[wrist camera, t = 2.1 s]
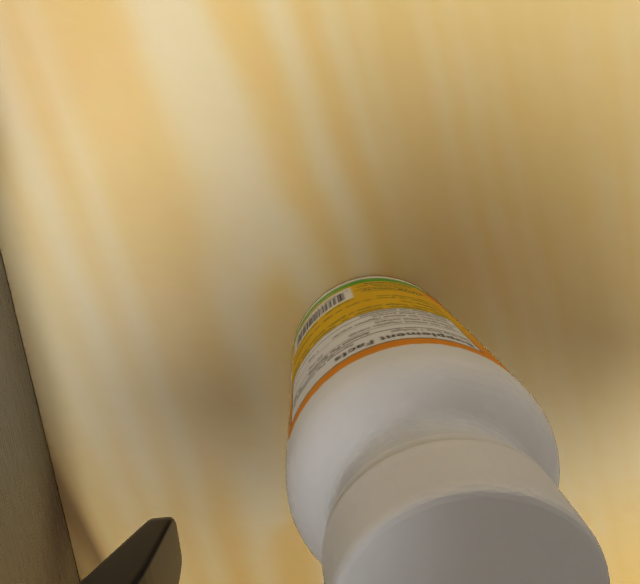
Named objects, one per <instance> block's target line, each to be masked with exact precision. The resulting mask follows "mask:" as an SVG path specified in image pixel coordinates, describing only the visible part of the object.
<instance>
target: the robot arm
mask: <svg viewBox="0 0 640 584" xmlns="http://www.w3.org/2000/svg"><path fill="white" fill-rule="evenodd" d="M181 565H182V556H181V549H180V544H179V538H178V532H177V526H176V522H175V520H174V519H173V518H172V517H165V518H153V519H150V520H148V521H147V522H146V523H145V524H144V525H143V526H141V527H140V528H139V529H138V530H137V531H136V532H135V533H134V534H133V535H132V536H131V537H129V538H128V539H127V540H126V541H125V542H124V543H123V544H122V545H121V546H120V547H118V548H117V549H116V550H115V551H114V552H113V553H112V554H111V555H110V556H109V557H108V558H106V559H105V560H104V561H103V562H102V563H101V564H100V565H99V566H98V567H97V568H96V569H94V570H93V571H92V572H91V573H90V574H89V575H88V576H87V577H86V578H85V579H83V580H82V581H81V582H80V583H79V584H179V579H180V573H181Z"/></svg>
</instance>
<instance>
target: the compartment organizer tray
mask: <svg viewBox="0 0 640 584" xmlns="http://www.w3.org/2000/svg"><path fill="white" fill-rule="evenodd" d="M79 583H80V581H79V577H78V573H77V569H76V564H75V560H74V556H73V552H72V548H71V544H70V540H69V535H68V531H67V527H66V523H65V519H64V515H63V511H62V506H61V502H60V498H59V494H58V490H57V486H56V482H55V477H54V473H53V469H52V465H51V461H50V457H49V453H48V448H47V444H46V440H45V436H44V432H43V428H42V424H41V419H40V415H39V411H38V407H37V403H36V399H35V394H34V390H33V386H32V382H31V378H30V374H29V370H28V365H27V361H26V357H25V353H24V349H23V345H22V341H21V336H20V332H19V328H18V324H17V320H16V316H15V312H14V307H13V303H12V299H11V295H10V291H9V287H8V283H7V278H6V274H5V270H4V266H3V262H2V258H1V254H0V584H79Z"/></svg>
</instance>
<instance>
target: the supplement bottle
mask: <svg viewBox="0 0 640 584" xmlns="http://www.w3.org/2000/svg"><path fill="white" fill-rule="evenodd" d="M559 474H560V471H559V457H558V450H557V445H556V441H555V438H554V435H553V432H552V429H551V427H550V425H549V423H548V421H547V418H546V416H545V414H544V413H543V411H542V410H541V408H540V407H539V405H538V404H537V402H536V401H535V399H534V398H533V397H532V396H531V394H530V393H529V392H528V391H527V390H526V389H525V388H524V387H523V386H522V384H521V383H520V382H519V381H518V380H517V379H516V378H515V377H514V376H513V375H512V374H511V373H510V372H509V371H508V370H507V369H506V368H505V367H504V366H503V365H502V364H501V363H500V362H499V361H498V360H497V359H496V358H495V357H494V356H493V355H492V354H491V353H490V352H488V351H487V350H486V349H485V348H484V347H483V346H482V345H481V344H480V343H479V342H478V341H477V340H476V339H475V338H474V337H473V336H472V335H471V334H470V333H469V332H468V331H467V330H466V329H465V328H464V327H463V326H462V325H461V324H460V323H459V322H458V321H457V320H456V319H455V318H454V317H453V316H452V315H451V314H450V313H449V312H448V311H447V310H446V309H445V308H443V307H442V306H441V305H440V304H439V303H438V302H437V301H436V300H435V299H434V298H433V297H431V296H430V295H429V294H428V293H426V292H425V291H424V290H422V289H421V288H419V287H417V286H415V285H413V284H411V283H409V282H406V281H403V280H400V279H396V278H391V277H384V276H368V277H362V278H357V279H353V280H350V281H347V282H345V283H342V284H340V285H338V286H336V287H334V288H333V289H331V290H329V291H328V292H326V293H325V294H324V295H322V296H321V297H320V298H319V299H318V300H317V301H316V302H315V303H314V304H313V305H312V306H311V307H310V309H309V310H308V311H307V313H306V314H305V316H304V318H303V319H302V321H301V323H300V325H299V328H298V330H297V333H296V337H295V341H294V346H293V355H292V369H291V387H290V406H289V423H288V439H287V454H286V486H287V495H288V502H289V506H290V510H291V514H292V517H293V520H294V523H295V525H296V527H297V529H298V531H299V533H300V535H301V537H302V539H303V540H304V542H305V544H306V545H307V547H308V548H309V550H310V551H311V553H312V554H313V555H314V556H315V557H316V558H317V559H318V560H319V561H320V563H321V564H322V569H323V576H324V584H610V579H609V573H608V567H607V564H606V560H605V557H604V554H603V552H602V550H601V548H600V545H599V543H598V541H597V539H596V537H595V536H594V534H593V533H592V532H591V530H590V529H589V527H588V526H587V525H586V523H585V522H584V521H583V519H582V518H581V517H580V515H579V514H578V513H577V512H576V510H575V509H574V508H573V506H572V505H571V504H570V503H569V501H568V500H567V499H566V498H565V496H564V495H563V494H562V493H561V491H560V490H559V489H558V486H559Z"/></svg>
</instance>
